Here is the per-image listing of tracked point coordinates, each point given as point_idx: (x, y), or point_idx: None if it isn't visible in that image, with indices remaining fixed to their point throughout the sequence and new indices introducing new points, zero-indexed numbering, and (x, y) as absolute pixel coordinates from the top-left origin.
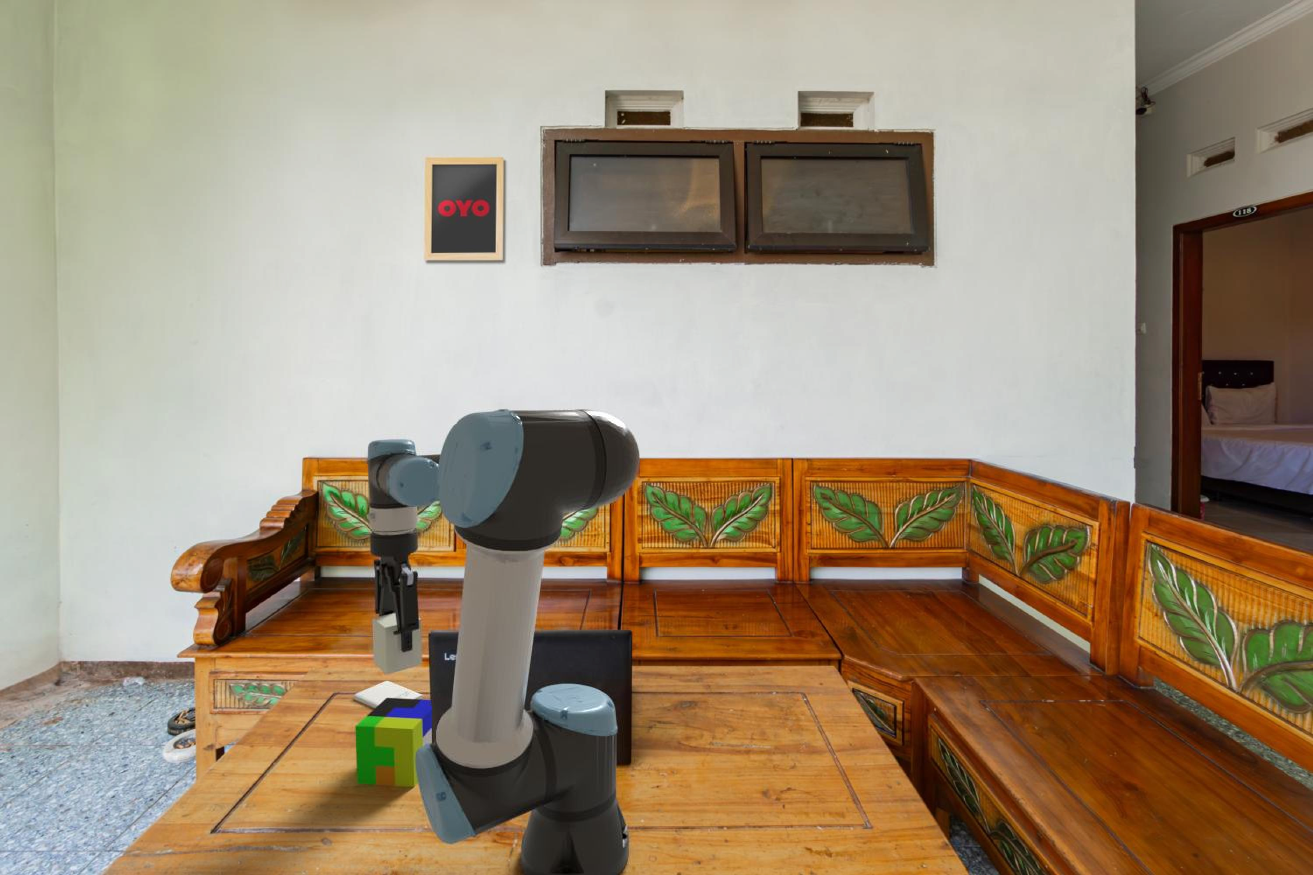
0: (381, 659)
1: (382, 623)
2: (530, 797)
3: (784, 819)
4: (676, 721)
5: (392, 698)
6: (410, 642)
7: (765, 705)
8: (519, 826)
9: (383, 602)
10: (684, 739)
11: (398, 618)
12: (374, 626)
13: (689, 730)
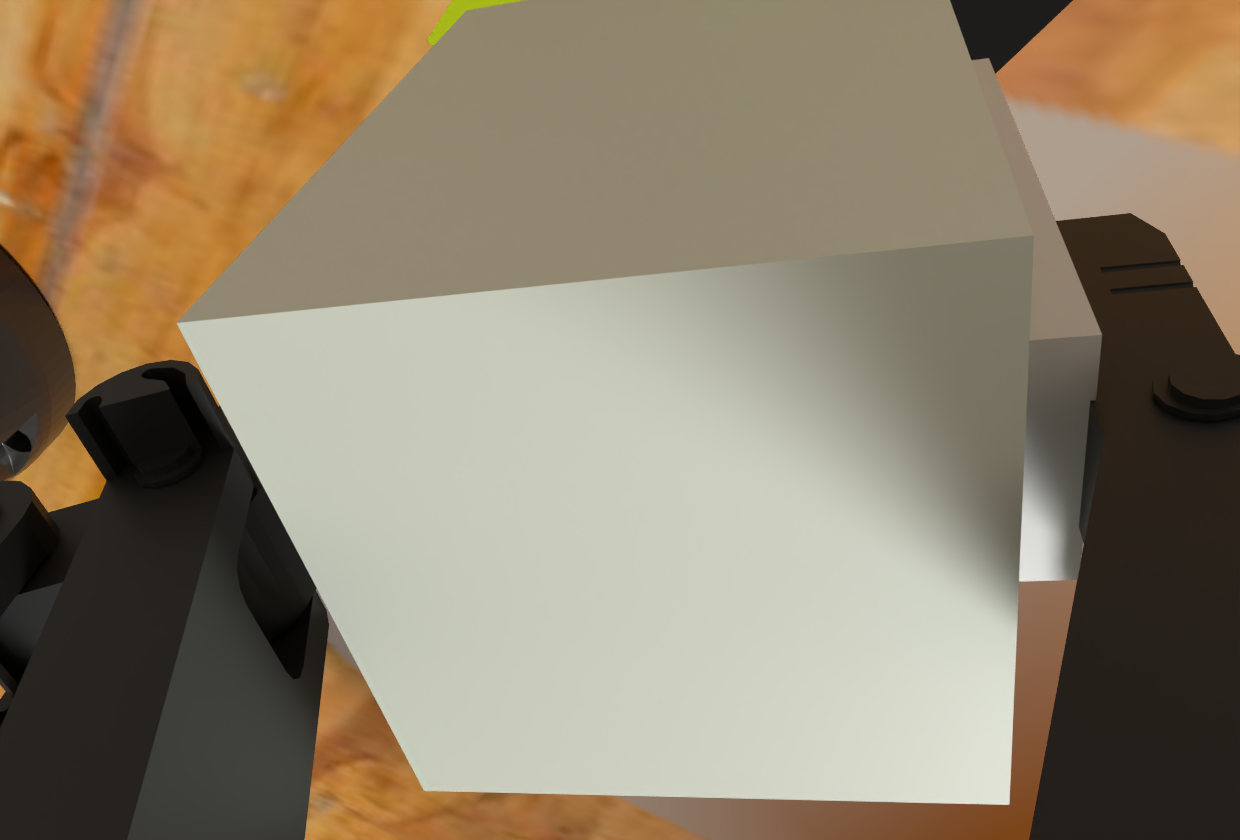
0: (603, 26)
1: (471, 334)
2: None
3: None
4: (486, 807)
5: (1040, 18)
6: None
7: None
8: (78, 238)
9: (1046, 759)
10: (379, 771)
11: (60, 627)
12: (869, 168)
13: (419, 801)
